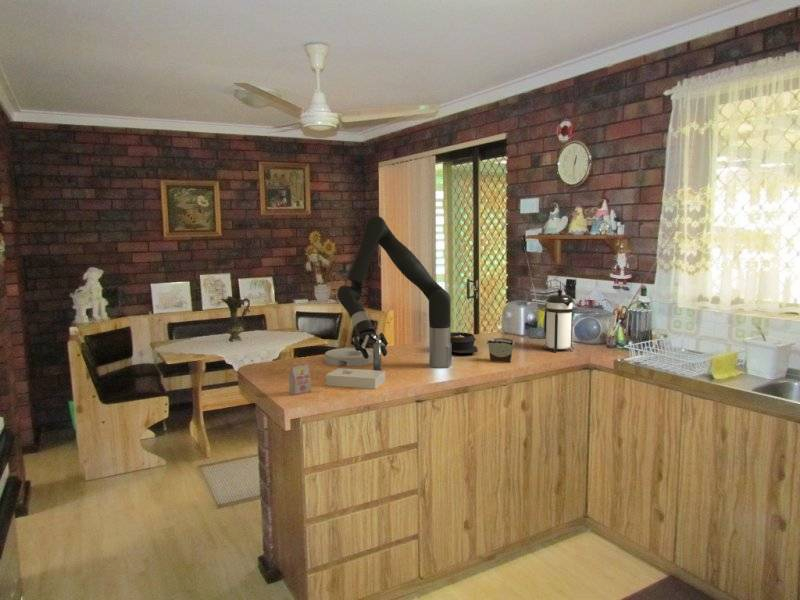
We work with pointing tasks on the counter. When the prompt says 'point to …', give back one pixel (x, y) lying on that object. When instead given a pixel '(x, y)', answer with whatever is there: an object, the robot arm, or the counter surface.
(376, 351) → the graphite peg
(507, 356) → the food container
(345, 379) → the peg block
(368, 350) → the ashtray
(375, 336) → the robot arm
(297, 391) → the grey printed package
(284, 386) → the counter surface
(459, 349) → the casserole
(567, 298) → the coffee press
